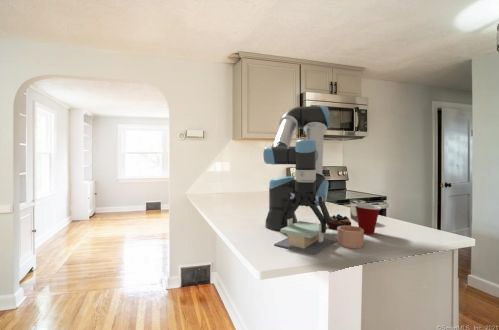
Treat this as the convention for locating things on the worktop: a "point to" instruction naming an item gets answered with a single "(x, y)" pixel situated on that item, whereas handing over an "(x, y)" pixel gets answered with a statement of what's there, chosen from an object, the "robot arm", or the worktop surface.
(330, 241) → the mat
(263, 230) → the worktop surface
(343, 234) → the bowl
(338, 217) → the pastry
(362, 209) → the plastic cup
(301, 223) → the sheet
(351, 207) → the food container
